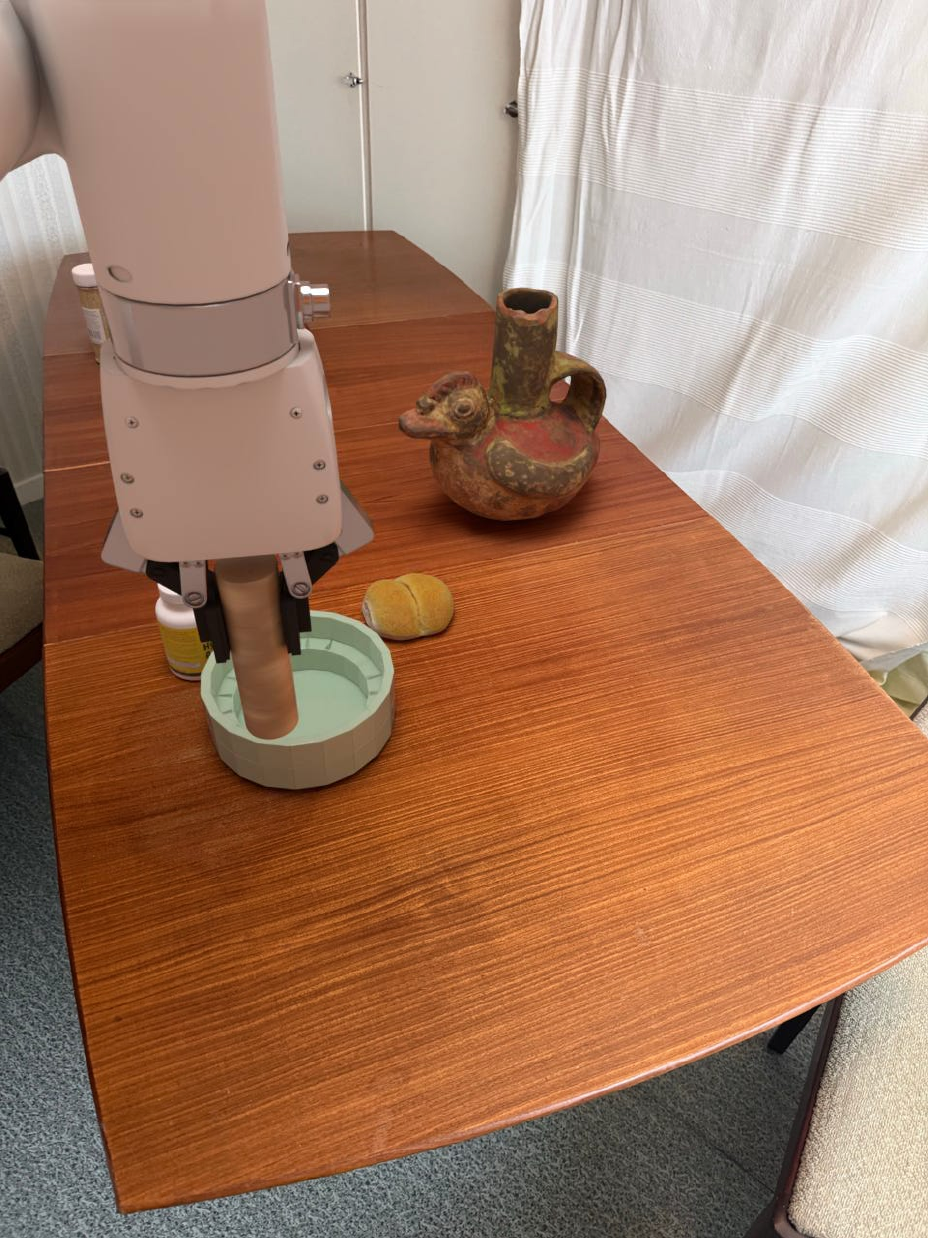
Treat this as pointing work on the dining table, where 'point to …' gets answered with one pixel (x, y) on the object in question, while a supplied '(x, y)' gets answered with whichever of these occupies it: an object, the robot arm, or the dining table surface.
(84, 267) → the spice jar
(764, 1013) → the dining table surface
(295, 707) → the stirring stick
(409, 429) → the ceramic vessel
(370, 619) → the bread roll
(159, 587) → the supplement bottle
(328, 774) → the bowl
